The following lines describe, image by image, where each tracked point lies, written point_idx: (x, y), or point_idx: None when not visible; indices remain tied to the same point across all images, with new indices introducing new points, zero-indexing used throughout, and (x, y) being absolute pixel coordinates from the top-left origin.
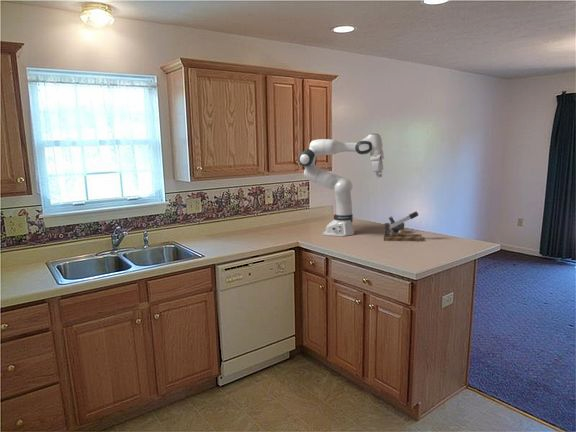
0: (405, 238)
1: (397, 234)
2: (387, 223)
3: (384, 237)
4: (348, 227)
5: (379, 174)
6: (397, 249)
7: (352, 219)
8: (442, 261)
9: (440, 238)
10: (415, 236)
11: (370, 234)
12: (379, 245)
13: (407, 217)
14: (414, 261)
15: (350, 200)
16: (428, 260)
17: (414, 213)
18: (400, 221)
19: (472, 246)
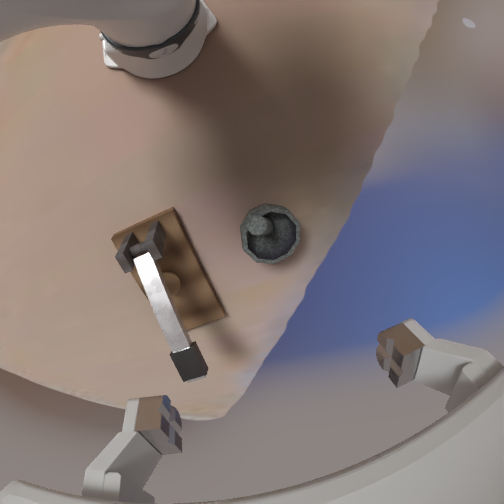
0: (147, 298)
1: (184, 258)
2: (149, 253)
3: (115, 239)
4: (128, 62)
5: (405, 362)
6: (57, 307)
7: (156, 56)
8: (57, 386)
9: (231, 349)
10: (185, 314)
11: (188, 139)
12: (57, 251)
13: (169, 343)
14: (23, 355)
15: (104, 23)
16: (44, 371)
17: (180, 373)
18: (155, 312)
19: (186, 403)
